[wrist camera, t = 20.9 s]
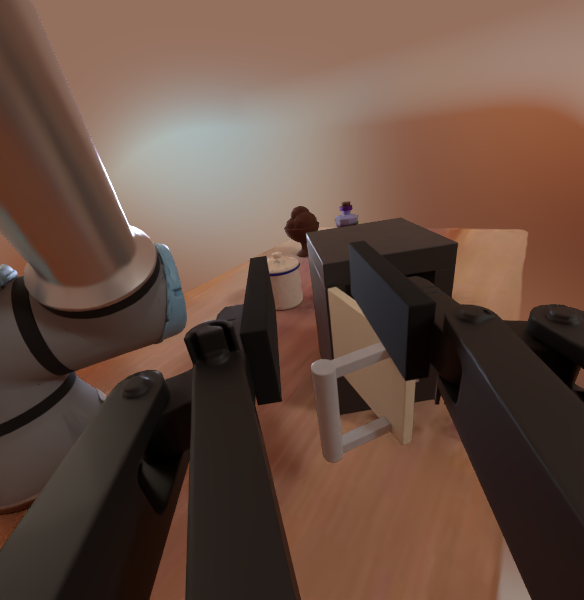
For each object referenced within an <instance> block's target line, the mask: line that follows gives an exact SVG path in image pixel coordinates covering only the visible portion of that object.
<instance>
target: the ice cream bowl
mask: <svg viewBox="0 0 584 600" xmlns="http://www.w3.org/2000/svg"><path fill="white" fill-rule="evenodd" d="M318 228H319V222H317V220H316V217H315V216H314V215H313V214H312V213H310V212H309V210H308V209H307V208H305V207H303V206H299V207H296V208H294V209H293V211H292V213H291V218H290V219H289V220H288V221H287V224H286V227H285V228H284V229H285V232H286V234H287V235H288V236H289V237H290V238H291V239H293V240H295V241H297V242H300V243H301V245H302V249H301V250H300V251H299V252H298V253H297V256H299V257H306V256H308V249H307V239H306V233H308V232H314V231H318Z"/></svg>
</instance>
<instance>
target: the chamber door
mask: <svg viewBox="0 0 584 600" xmlns="http://www.w3.org/2000/svg"><path fill="white" fill-rule="evenodd" d="M328 298H329V309H330V319H331V330H332V341H333V352H334V359H333V360H331V361H330V360H327V359H321V360H317V361H315V362H314V363H313V364H312V366H311V373H312V380H313V388H314V395H315V402H316V409H317V416H318V423H319V430H320V437H321V445H322V452H323V456H324V458H325V459H326V460H327V461H328V462H331V463H335V462H338V461H340V460H341V459H342V457H343V453H346V452H348V451H350V450H352V449H354V448H356V447H358V446H360V445H362V444H365V443H367V442H369V441H371V440H373V439H375V438H377V437H379V436H382V435H384V434H386V433H388V432H390V431H391V433H392V434H393V435H394V436H395V437H396V439H397V440H398V441H399V442H400V443H401V444H402V445H405V444H407V443H409V442H411V440H412V425H413V411H414V396H415V381H416V380H410V381H405V380H404V378H403V377H402V375H401V373H400V372H399V370H398V368H397V367H396V365H395V364H394V362H393V360H392V359H391V357H390V356H389V354H388V352H387V351H386V349H385V348H384V346H383V344H382V343H381V341H380V339H379V338H378V336H377V335H376V333H375V331H374V330H373V328H372V327H371V325H370V323H369V322H368V320H367V319H366V317H365V315H364V314H363V312H362V310H361V309H360V307H359V306H358V304H357V302H356V301H355V300H354V299H353V298H351V297H350V296H348V295H347V294H345V293H344V292H343V291H341V290H340V289H338V288H337V287H333V288H329V289H328ZM341 376H344V377H345V378H346V379H347V381H348V382H349V383H350V384H351V385H352V386H353V388H354V389H355V390H356V391H357V392H358V394H359V395H360V396H361V397H362V398H363V400H364V401H365V402H366V403H367V404H368V405H369V407H370V408H371V409H372V410H373V411H374V413H375V414H376V415H377V416H378V417H379V419H376V420H374V421H372V422H370V423H367V424H365V425H363V426H361V427H359V428H356V429H354V430H352V431H350V432H348V433H345V434H343V435H342V433H341V422H340V411H339V400H338V389H337V378H339V377H341Z"/></svg>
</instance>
